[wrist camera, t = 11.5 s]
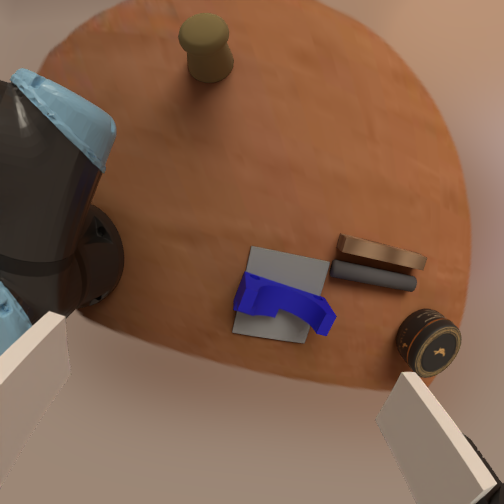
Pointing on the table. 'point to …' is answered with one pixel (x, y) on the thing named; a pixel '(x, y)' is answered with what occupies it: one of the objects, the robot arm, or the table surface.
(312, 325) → the cable clip
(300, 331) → the mat
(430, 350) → the jar
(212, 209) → the table surface
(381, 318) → the table surface
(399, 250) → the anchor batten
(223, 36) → the cork
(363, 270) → the rod
